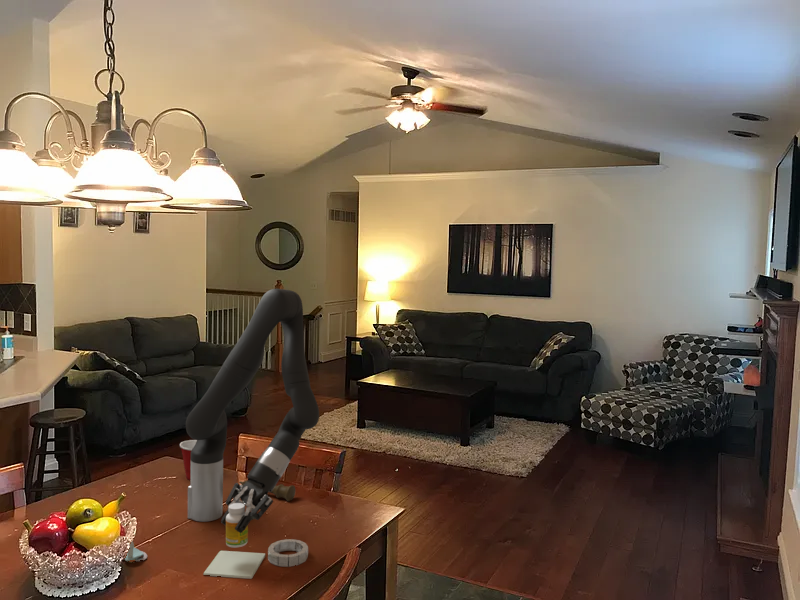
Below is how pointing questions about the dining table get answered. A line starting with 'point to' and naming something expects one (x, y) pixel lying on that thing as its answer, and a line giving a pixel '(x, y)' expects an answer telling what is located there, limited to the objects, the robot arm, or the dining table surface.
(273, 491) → the kendama
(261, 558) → the sage mat
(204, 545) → the dining table surface
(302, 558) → the white segmented ring
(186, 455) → the plastic cup
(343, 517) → the dining table surface
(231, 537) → the supplement bottle
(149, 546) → the dining table surface
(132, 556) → the pacifier
